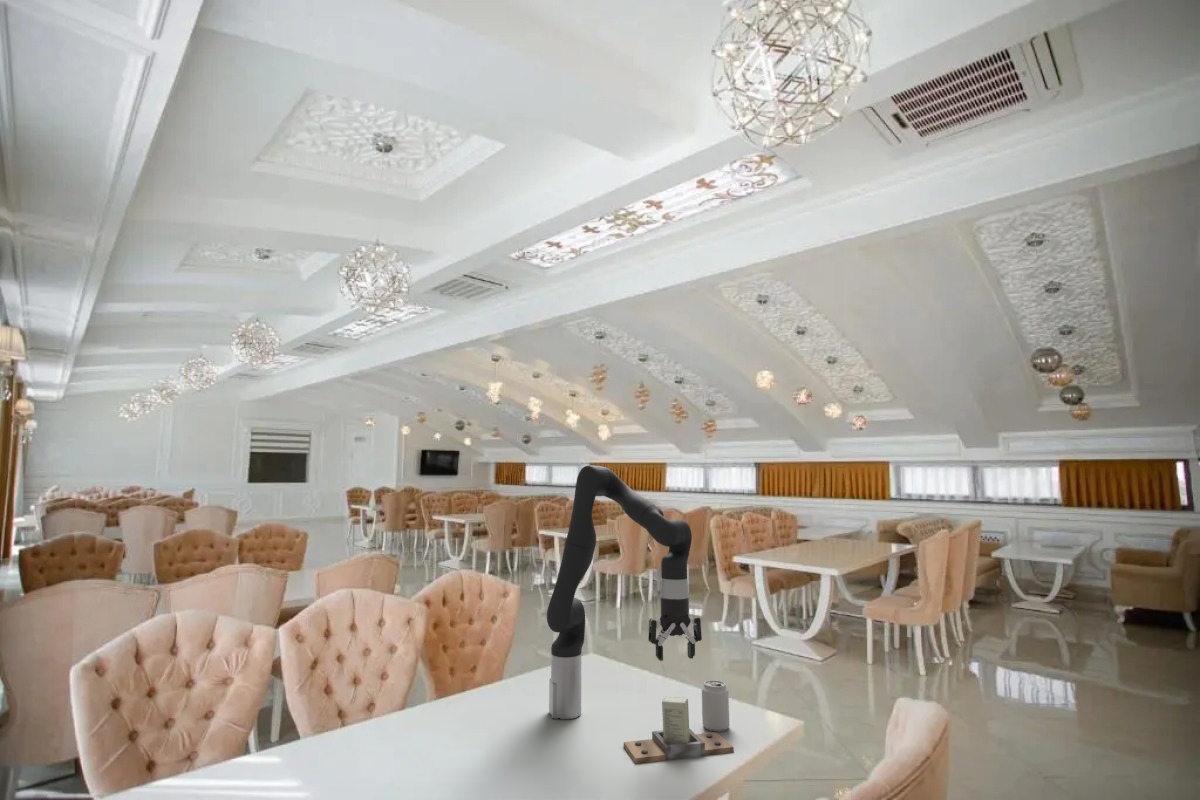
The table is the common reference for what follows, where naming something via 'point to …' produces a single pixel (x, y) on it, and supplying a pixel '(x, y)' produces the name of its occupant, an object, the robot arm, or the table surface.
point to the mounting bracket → (676, 747)
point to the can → (715, 705)
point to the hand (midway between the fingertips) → (675, 659)
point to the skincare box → (675, 720)
